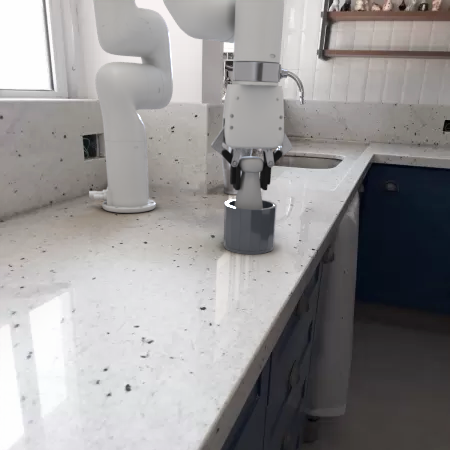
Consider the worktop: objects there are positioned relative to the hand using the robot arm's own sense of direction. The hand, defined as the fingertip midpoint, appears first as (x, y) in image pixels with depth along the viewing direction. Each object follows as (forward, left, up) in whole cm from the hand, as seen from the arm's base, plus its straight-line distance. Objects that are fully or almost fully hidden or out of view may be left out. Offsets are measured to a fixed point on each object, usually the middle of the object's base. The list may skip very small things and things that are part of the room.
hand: (249, 187), depth 86 cm
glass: (+8, +51, -11) cm, 52 cm away
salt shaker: (0, 0, -8) cm, 8 cm away
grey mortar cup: (0, 0, -11) cm, 11 cm away
